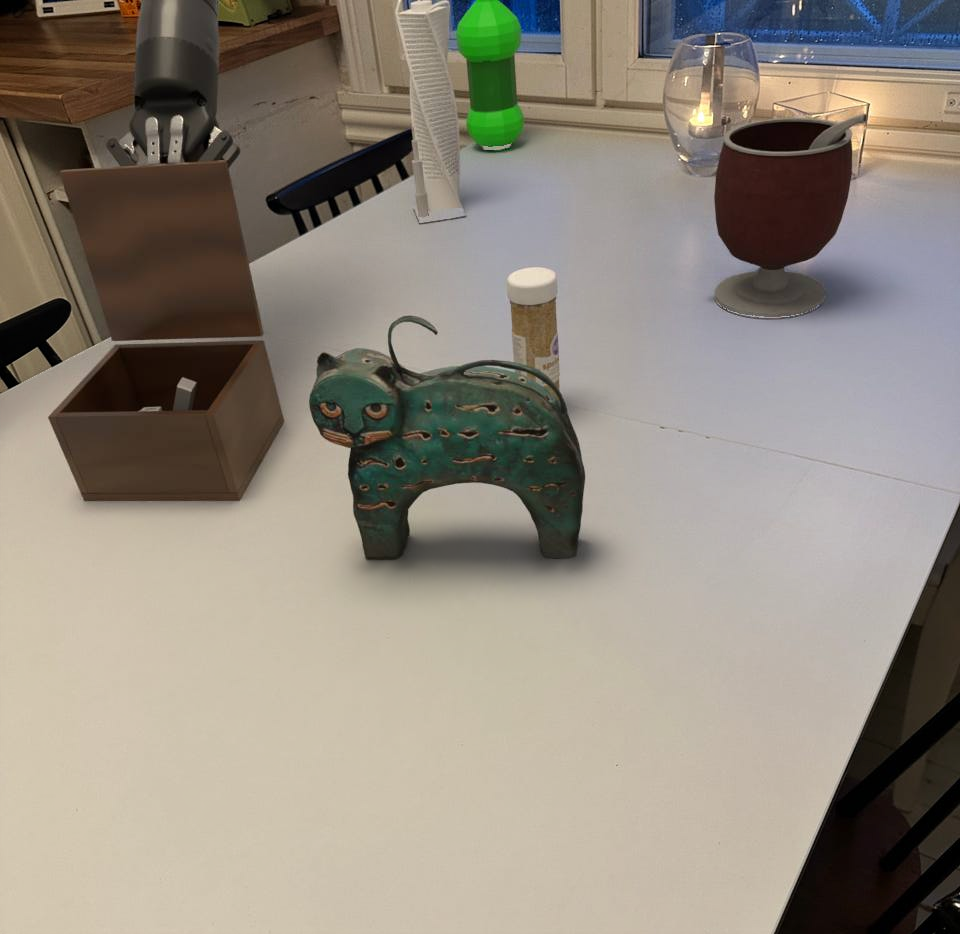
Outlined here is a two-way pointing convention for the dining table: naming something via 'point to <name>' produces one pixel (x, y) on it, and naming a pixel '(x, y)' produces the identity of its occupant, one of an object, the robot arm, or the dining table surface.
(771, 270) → the mate gourd
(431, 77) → the skyscraper
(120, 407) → the chest
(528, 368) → the ceramic cat
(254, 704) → the dining table surface
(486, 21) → the plastic bottle
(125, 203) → the lid
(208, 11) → the robot arm
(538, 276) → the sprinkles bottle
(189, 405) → the lighter
